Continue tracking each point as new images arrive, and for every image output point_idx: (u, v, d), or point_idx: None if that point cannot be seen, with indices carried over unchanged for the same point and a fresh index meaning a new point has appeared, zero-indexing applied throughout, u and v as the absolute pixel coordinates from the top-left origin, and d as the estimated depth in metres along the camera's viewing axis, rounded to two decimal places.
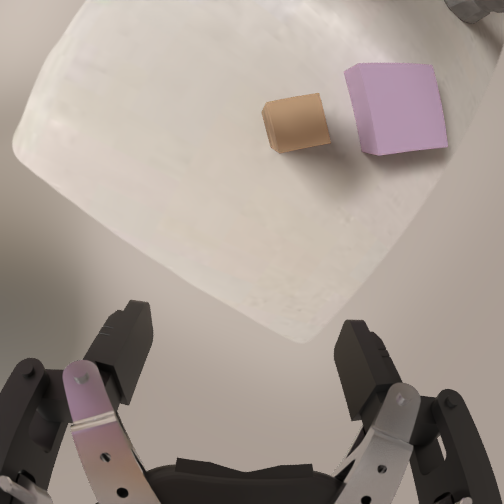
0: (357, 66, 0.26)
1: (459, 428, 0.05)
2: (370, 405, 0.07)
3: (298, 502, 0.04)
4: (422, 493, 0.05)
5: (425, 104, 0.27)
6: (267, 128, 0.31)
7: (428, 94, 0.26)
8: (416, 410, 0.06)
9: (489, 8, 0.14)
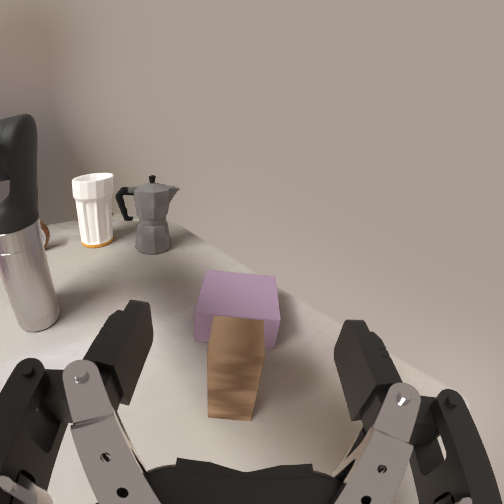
0: (196, 314, 0.37)
1: (459, 428, 0.05)
2: (370, 405, 0.07)
3: (298, 502, 0.04)
4: (422, 493, 0.05)
5: (239, 282, 0.45)
6: (230, 404, 0.26)
7: (231, 278, 0.46)
8: (416, 410, 0.06)
9: (164, 216, 0.62)
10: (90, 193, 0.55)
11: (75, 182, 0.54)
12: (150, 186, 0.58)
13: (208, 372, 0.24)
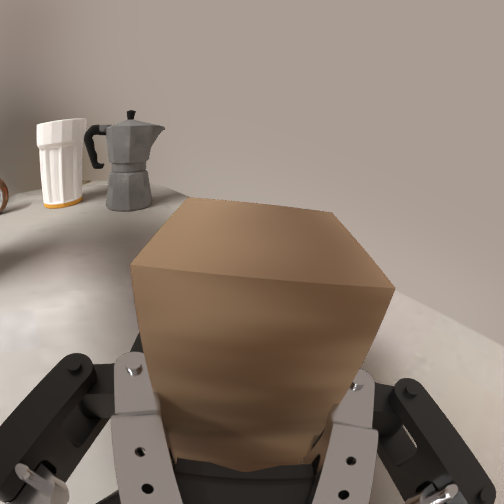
0: None
1: (425, 417, 0.06)
2: None
3: (298, 502, 0.04)
4: (400, 483, 0.05)
5: None
6: (234, 463, 0.08)
7: None
8: (368, 396, 0.07)
9: (143, 160, 0.44)
10: (55, 136, 0.37)
11: (39, 125, 0.36)
12: (127, 121, 0.40)
13: (153, 376, 0.06)
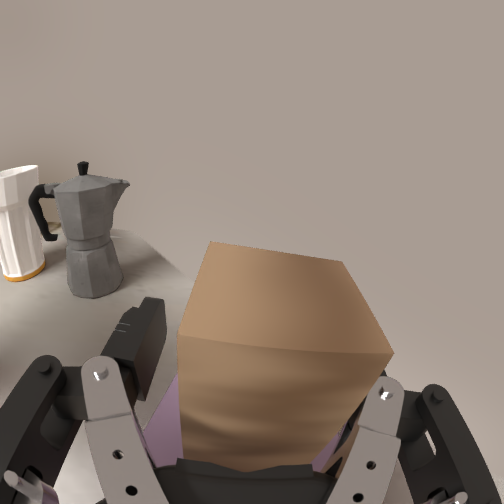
0: None
1: (447, 423, 0.05)
2: None
3: (298, 502, 0.04)
4: (414, 489, 0.05)
5: None
6: None
7: None
8: (399, 404, 0.06)
9: (103, 233, 0.32)
10: None
11: None
12: (77, 181, 0.28)
13: (183, 411, 0.07)
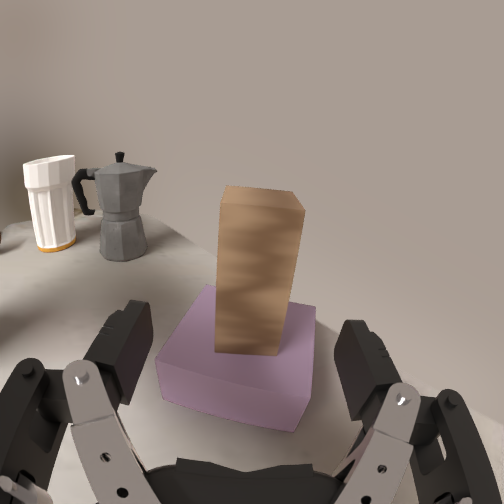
0: (158, 364, 0.19)
1: (459, 428, 0.05)
2: (370, 405, 0.07)
3: (298, 502, 0.04)
4: (422, 493, 0.05)
5: None
6: (248, 322, 0.20)
7: None
8: (416, 410, 0.06)
9: None
10: (42, 179, 0.36)
11: (25, 166, 0.34)
12: (116, 166, 0.39)
13: (219, 251, 0.17)
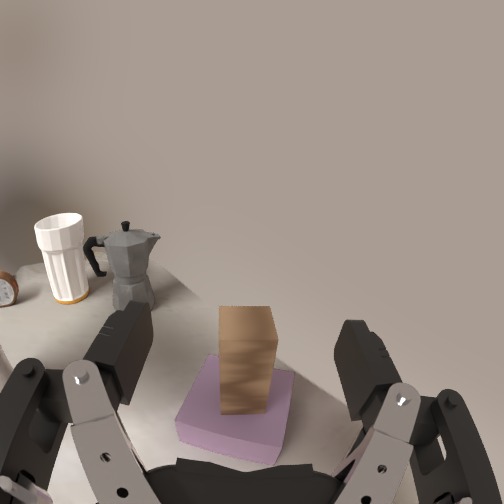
0: (177, 423, 0.25)
1: (459, 428, 0.05)
2: (370, 405, 0.07)
3: (298, 502, 0.04)
4: (422, 493, 0.05)
5: None
6: (243, 398, 0.26)
7: None
8: (416, 410, 0.06)
9: None
10: (55, 244, 0.42)
11: (37, 230, 0.41)
12: (123, 237, 0.45)
13: (220, 364, 0.23)
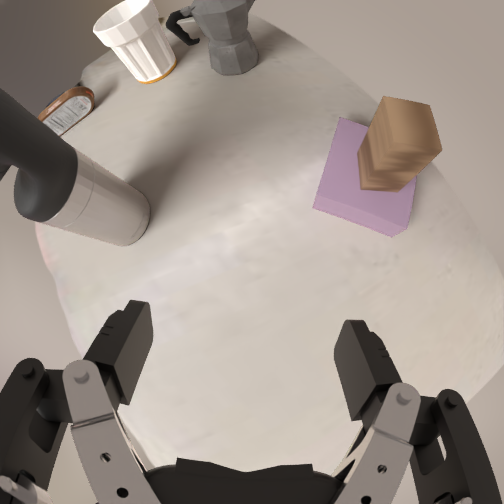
0: (318, 196, 0.32)
1: (459, 428, 0.05)
2: (370, 405, 0.07)
3: (298, 502, 0.04)
4: (422, 493, 0.05)
5: None
6: (387, 180, 0.27)
7: None
8: (416, 410, 0.06)
9: (245, 30, 0.33)
10: (128, 35, 0.30)
11: (99, 33, 0.28)
12: (216, 2, 0.27)
13: (384, 158, 0.22)
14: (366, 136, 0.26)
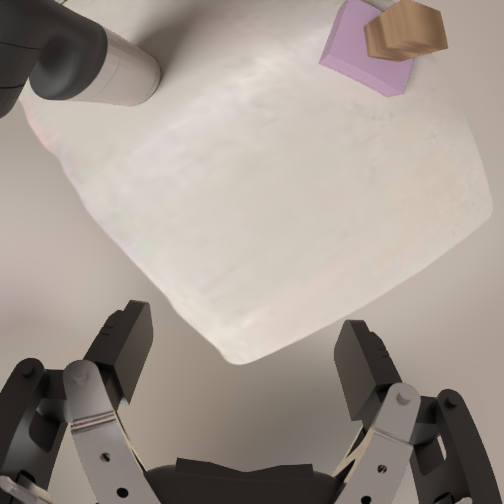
0: (329, 56, 0.28)
1: (459, 428, 0.05)
2: (370, 405, 0.07)
3: (298, 502, 0.04)
4: (422, 493, 0.05)
5: None
6: (394, 54, 0.24)
7: None
8: (416, 410, 0.06)
9: None
10: None
11: None
12: None
13: (399, 42, 0.19)
14: (378, 18, 0.21)
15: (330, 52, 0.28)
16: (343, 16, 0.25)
